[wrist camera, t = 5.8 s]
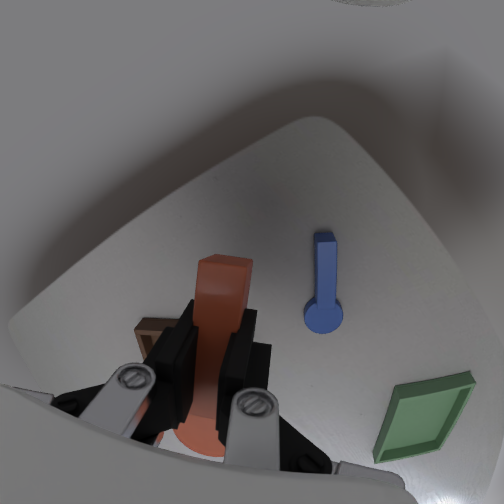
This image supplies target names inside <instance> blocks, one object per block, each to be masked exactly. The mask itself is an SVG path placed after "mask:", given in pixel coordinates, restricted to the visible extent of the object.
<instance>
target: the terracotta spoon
mask: <svg viewBox="0 0 504 504" xmlns="http://www.w3.org/2000/svg"><path fill="white" fill-rule="evenodd" d="M252 266H253V260H252V259H247V258H240V257H233V256H226V255H220V254H214V255H212V256H209V257H206V258H204V259H201V260H199V263H198V272H197V281H196V290H195V300H194V310H193V325H194V326H199V331H198V342H197V353H196V365H195V378H194V392H193V402H192V405H191V408H190V410H189V413H188V416H187V419H186V421H185V423H180V424H179V426H178V429H177V430H176V429H173V431H174V433H175V435H176V436H177V438H178V439H179V440H180V441H181V442H182V443H183V444H184V445H185V446H186V447H188V448H189V449H191V450H193V451H195V452H197V453H200V454H203V455H206V456H212V457H223V456H224V454H225V447H224V446H223V445H222V443H221V442H220V441H219V440H218V431H216V430H215V427H216V409H217V391H218V378H219V372H220V368H221V365H222V362H223V358H224V355H225V352H226V348H227V345H228V342H229V338H230V335H231V332H233V333H237V331H238V329H239V328H240V325H241V321H242V317H243V313H244V309H245V308H247V302H248V295H249V287H250V280H251V273H252Z"/></svg>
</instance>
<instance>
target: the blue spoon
mask: <svg viewBox="0 0 504 504" xmlns="http://www.w3.org/2000/svg"><path fill="white" fill-rule="evenodd" d="M314 246H315V297H314V298H312V299H311V300H310V301H309V302H308V303H307V304H306V306H305V309H304V319H305V324H306V326H307V327H308V328H309V329H310V330H311V331H313V332H315V333H319V334H326V333H330V332H332V331H334V330H335V329H337V328H338V327H339V326H340V324H341V322H342V320H343V311H342V308H341V305H340V303H339V301H338V300H337V299H336V280H337V241H336V239H335V237H334V235H333V233H315V234H314Z"/></svg>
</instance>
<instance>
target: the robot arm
mask: <svg viewBox="0 0 504 504" xmlns="http://www.w3.org/2000/svg"><path fill="white" fill-rule="evenodd" d="M193 310H194V300H193V299H191V300H190V302H189V304H188V305H187V307H186V309H185V310H184V312H183V314H182V315H181V317H180V319H179V320H178V322H177V324H176V325H175V327H169V326H167V327H165V329H164V330H163V332H162V333H161V335H160V336H159V338H158V339H157V341H156V343H155V344H154V346H153V347H152V349H151V351H150V352H149V354H148V355H147V357H146V358H145V360H144V362H143V363H128V364H125V365H123V366H120V367H119V368H118V369H117V370H116V371H115V372H114V374H113V375H112V376H111V377H110V378H109V380H108V381H107V382H106V383H105V384H101V385H97V386H93V387H89V388H85V389H81V390H77V391H73V392H68V393H64V394H61V395H59V396H58V397H56V398H55V397H54V395H53V394H48V393H43V392H37V391H32V390H27V389H22V388H18V387H11V386H8V385H5V384H2V383H0V504H418V502H417V501H416V499H415V498H414V497H413V496H412V494H410V493H409V492H408V491H406V490H405V483H404V481H403V479H402V478H401V477H400V476H399V475H398V474H395V473H393V472H389V471H384V470H379V469H374V468H369V467H365V466H361V465H356V464H352V463H348V462H344V461H340V463H337V462H333V461H331V460H330V458H329V457H328V456H327V455H326V454H325V453H324V452H323V451H321V450H320V449H319V448H318V447H316V446H315V445H314V444H313V443H312V442H310V441H309V440H308V439H307V438H305V437H304V436H303V435H302V434H301V433H299V432H298V431H297V430H296V429H295V428H294V427H292V426H291V425H290V424H289V423H288V422H287V421H285V420H284V419H283V418H282V417H281V416H280V415H279V404H278V400H277V399H276V397H275V396H274V395H273V394H272V393H271V392H269V391H267V386H268V377H269V367H270V357H271V347H272V345H271V344H264V343H257V342H253V338H254V331H255V324H256V317H257V310H253V309H247V308H245V309H244V313H243V317H242V321H241V325H240V328H239V329H238V331H237V333H233V332H231V335H230V338H229V342H228V345H227V348H226V352H225V355H224V358H223V362H222V365H221V368H220V372H219V378H218V391H217V409H216V427H215V430H216V431H218V440H219V441H220V442H221V443H222V445H223V446H224V447H225V454H224V461H223V463H220V462H215V461H210V460H205V459H201V458H196V457H192V456H188V455H184V454H180V453H176V452H172V451H168V450H165V449H161V448H158V446H159V444H160V442H161V440H162V438H163V434H164V431H166V430H169V429H171V428H172V429H176V430H177V429H178V426H179V424H180V423H185V421H186V419H187V416H188V413H189V410H190V408H191V405H192V402H193V392H194V378H195V365H196V353H197V342H198V331H199V326H194V325H193Z"/></svg>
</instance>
